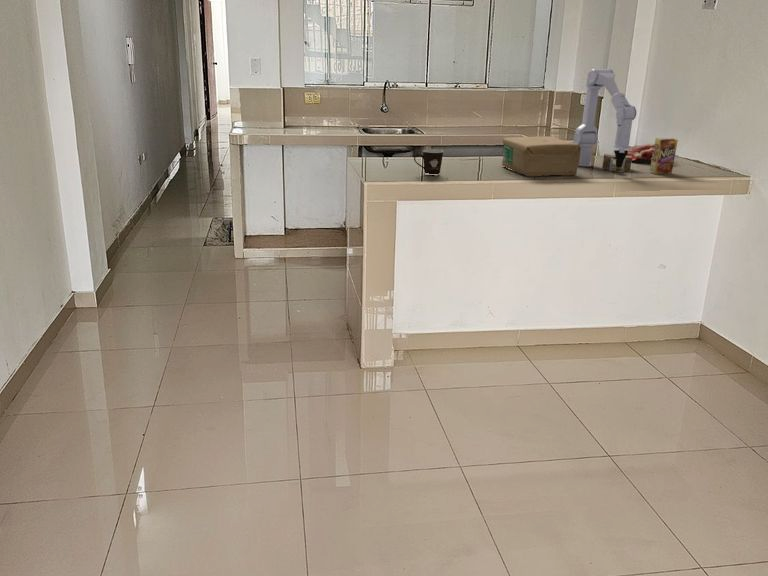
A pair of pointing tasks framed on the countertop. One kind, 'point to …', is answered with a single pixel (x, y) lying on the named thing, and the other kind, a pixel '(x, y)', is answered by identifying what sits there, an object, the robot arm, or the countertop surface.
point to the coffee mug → (431, 161)
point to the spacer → (612, 164)
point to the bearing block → (608, 157)
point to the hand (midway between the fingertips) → (618, 167)
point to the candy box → (663, 156)
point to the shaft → (616, 167)
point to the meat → (641, 151)
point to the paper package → (541, 156)
